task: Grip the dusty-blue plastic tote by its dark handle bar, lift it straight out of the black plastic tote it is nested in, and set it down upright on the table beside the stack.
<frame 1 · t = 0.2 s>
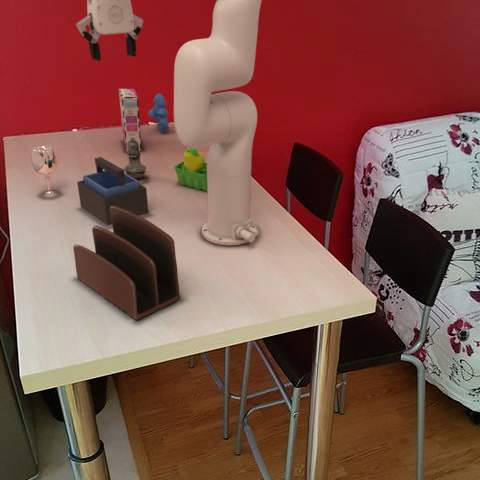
hand: (114, 57, 143), 31 cm above the table, tool pointing down, fingers open, 9 cm apart
fruit basket: (197, 186, 155), on the table
blue tote: (114, 209, 139), point 1 cm above the table, touching black tote
grapes: (159, 131, 194), on the table
candy bar box: (132, 146, 180), on the table
wineglass: (50, 195, 146), on the table
black tote: (114, 212, 139), on the table
grey chess piece: (136, 181, 156), on the table
letter holder: (127, 290, 110), on the table
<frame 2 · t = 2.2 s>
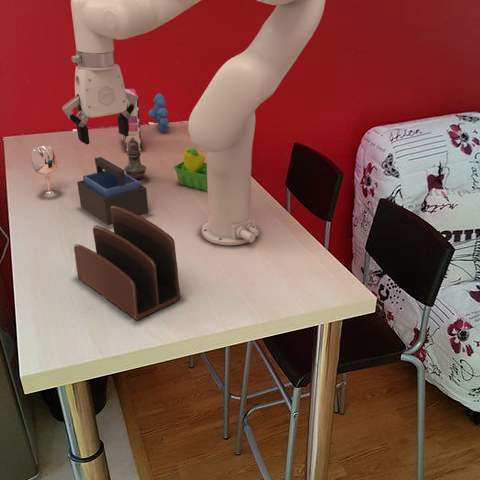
hand: (104, 138, 130), 18 cm above the table, tool pointing down, fingers open, 9 cm apart
nothing on the table moved.
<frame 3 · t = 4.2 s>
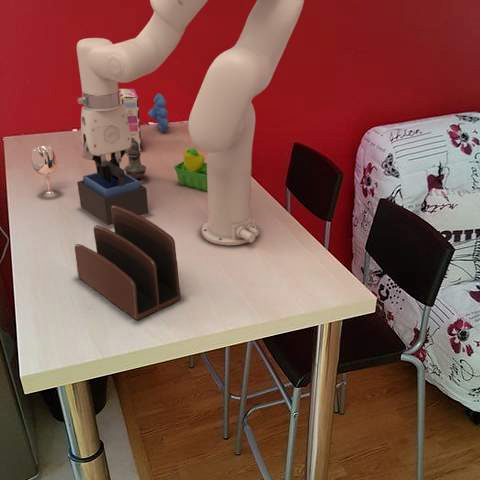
hand: (110, 178, 135), 9 cm above the table, tool pointing down, fingers closed on blue tote
blue tote: (114, 209, 139), point 1 cm above the table, touching gripper
everything else where it was.
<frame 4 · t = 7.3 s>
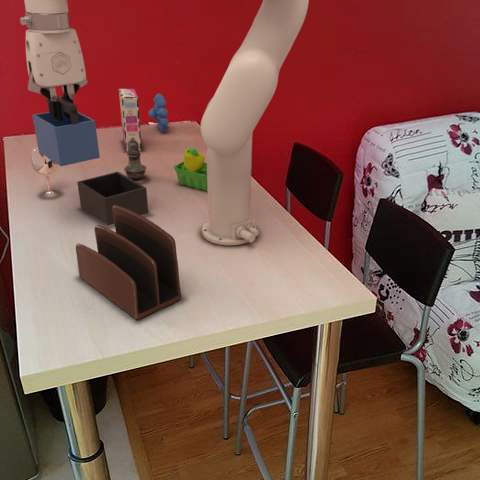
hand: (63, 117, 119), 25 cm above the table, tool pointing down, fingers closed on blue tote
blue tote: (69, 154, 123), point 17 cm above the table, touching gripper
everything else where it was.
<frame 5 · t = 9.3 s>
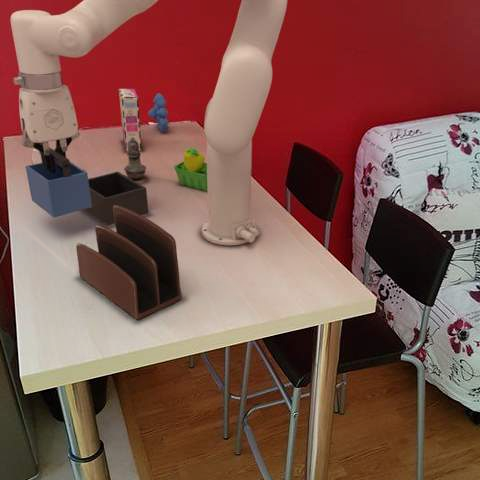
hand: (56, 169, 122), 15 cm above the table, tool pointing down, fingers closed on blue tote
blue tote: (61, 203, 126), point 7 cm above the table, touching gripper
everything else where it was.
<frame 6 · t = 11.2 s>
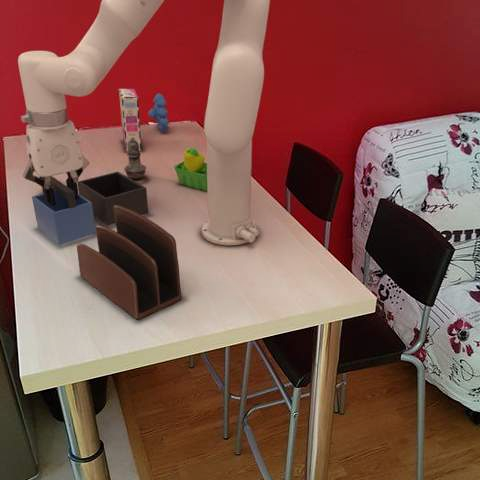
hand: (62, 200, 125), 8 cm above the table, tool pointing down, fingers open, 4 cm apart
blue tote: (67, 232, 129), on the table
everything else where it was.
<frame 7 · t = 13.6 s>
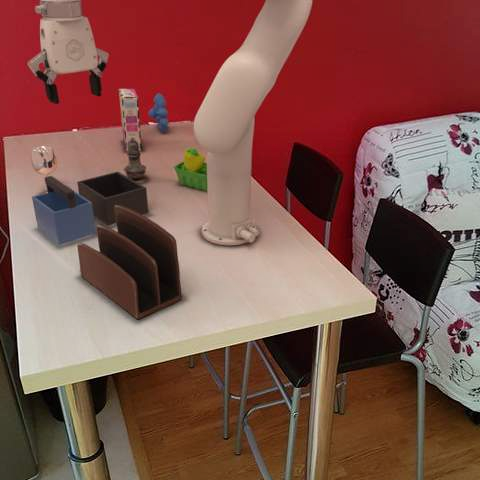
hand: (75, 98, 122), 28 cm above the table, tool pointing down, fingers open, 9 cm apart
nothing on the table moved.
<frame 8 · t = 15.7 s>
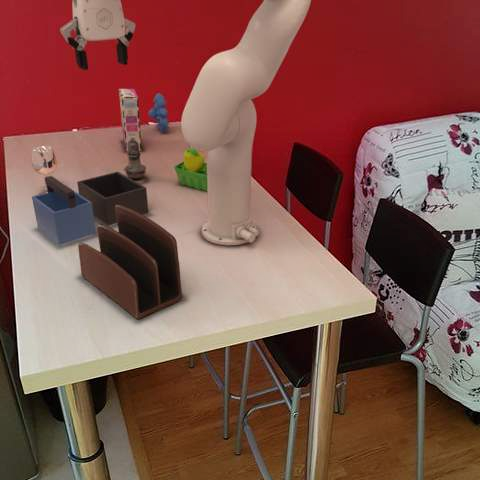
hand: (103, 66, 129), 32 cm above the table, tool pointing down, fingers open, 9 cm apart
nothing on the table moved.
at the end: blue tote inside the target area (0.2 cm from its centre), on the table; blue tote tilted 0°; the gripper is holding nothing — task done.
